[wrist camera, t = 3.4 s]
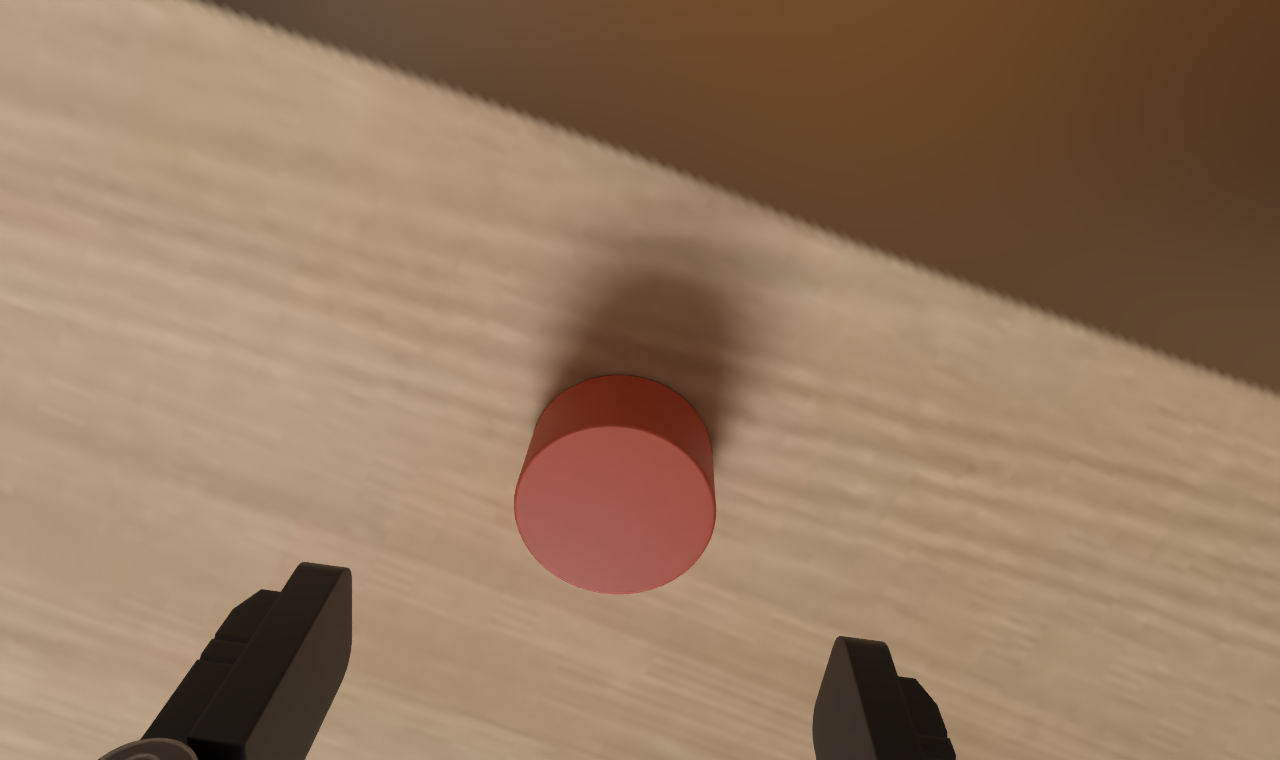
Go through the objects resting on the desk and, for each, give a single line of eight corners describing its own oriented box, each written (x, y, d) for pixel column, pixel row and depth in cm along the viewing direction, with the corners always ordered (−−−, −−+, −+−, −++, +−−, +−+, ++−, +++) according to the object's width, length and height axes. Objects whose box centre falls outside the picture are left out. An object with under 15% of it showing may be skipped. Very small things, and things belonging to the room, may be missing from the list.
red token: (622, 337, 18) (615, 383, 16) (749, 460, 20) (758, 519, 17) (494, 451, 20) (472, 508, 18) (620, 560, 21) (613, 626, 19)
